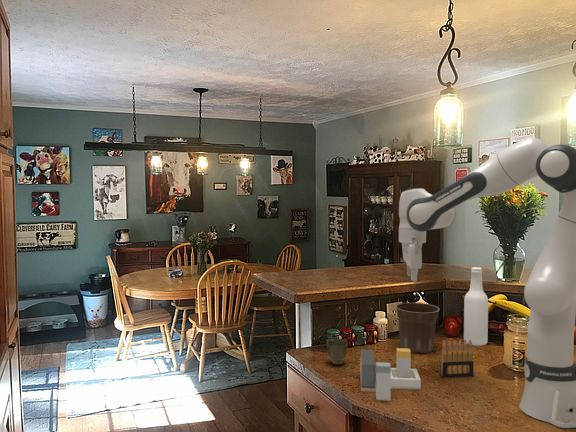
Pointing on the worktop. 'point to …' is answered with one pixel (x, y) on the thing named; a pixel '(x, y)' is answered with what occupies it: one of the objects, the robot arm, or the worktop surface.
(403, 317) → the plant pot
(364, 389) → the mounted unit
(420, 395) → the worktop surface
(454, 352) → the ammunition clip
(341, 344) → the cup
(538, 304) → the robot arm
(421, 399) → the worktop surface
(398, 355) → the block
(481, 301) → the white bottle
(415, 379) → the parts tray
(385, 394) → the block
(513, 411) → the worktop surface
